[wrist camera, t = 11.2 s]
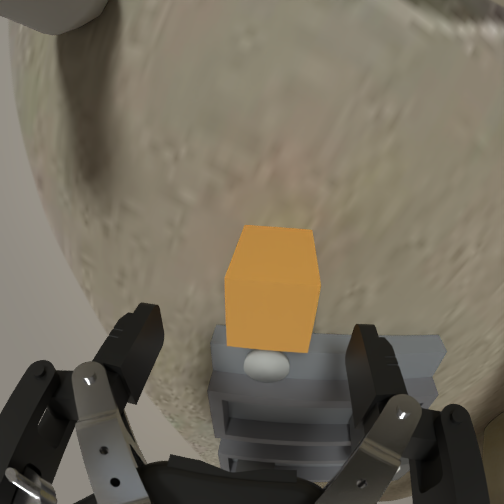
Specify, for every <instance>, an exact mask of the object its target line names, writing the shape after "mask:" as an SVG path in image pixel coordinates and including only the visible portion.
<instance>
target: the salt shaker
mask: <svg viewBox="0 0 504 504" xmlns="http://www.w3.org/2000/svg"><path fill="white" fill-rule="evenodd" d="M107 2H108V0H0V16H2V17H5V18H7V19H10V20H12V21H15V22H17V23H20V24H22V25H24V26H27V27H29V28H32V29H34V30H36V31H38V32H41V33H44V34H49V35H59V34H62V33H65V32H68V31H70V30H73V29H76V28H79V27H81V26H83V25H84V24H86V23H88V22H89V21H91V20H93V19H95V18H96V17H98V16H100V15H101V13H102V11H103V9H104V7H105V5H106V4H107Z"/></svg>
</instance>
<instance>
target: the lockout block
mask: <svg viewBox="0 0 504 504" xmlns="http://www.w3.org/2000/svg"><path fill="white" fill-rule="evenodd" d="M320 288H321V283H320V276H319V270H318V263H317V257H316V251H315V244H314V238H313V233H312V230H306V229H294V228H281V227H267V226H253V225H244V228H243V231H242V233H241V236H240V239H239V241H238V244H237V246H236V249H235V252H234V254H233V257H232V260H231V262H230V265H229V268H228V270H227V273H226V276H225V310H226V337H227V346H232V347H240V348H250V349H260V350H271V351H284V352H298V353H308V349H309V345H310V340H311V335H312V330H313V325H314V320H315V315H316V310H317V305H318V299H319V294H320Z"/></svg>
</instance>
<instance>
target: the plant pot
mask: <svg viewBox="0 0 504 504" xmlns="http://www.w3.org/2000/svg"><path fill="white" fill-rule="evenodd" d="M482 462H483V467H484V472H485V476H486V482H487V487H488V493H489V499H490V504H504V412H503V413H501V414H500V415H499V416H497V417H496V418H495V419H494V420H492V421H491V422H490V423H489V424H488V425H487V427H486V428H485V430H484V442H483V456H482Z"/></svg>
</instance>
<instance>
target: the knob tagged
mask: <svg viewBox="0 0 504 504" xmlns="http://www.w3.org/2000/svg"><path fill="white" fill-rule="evenodd" d="M274 466H275V463H271V462H259V461H249V460H240V459H238V461H237V467H236V472H243V471H252V470H260V469H274Z"/></svg>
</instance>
